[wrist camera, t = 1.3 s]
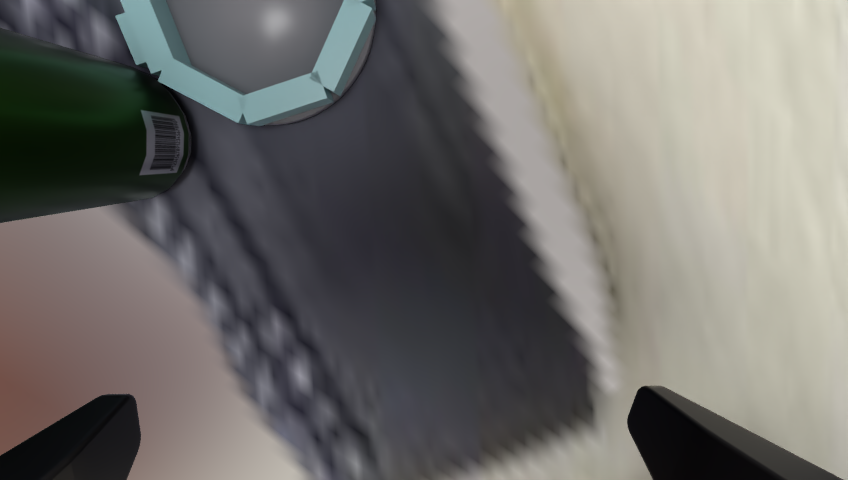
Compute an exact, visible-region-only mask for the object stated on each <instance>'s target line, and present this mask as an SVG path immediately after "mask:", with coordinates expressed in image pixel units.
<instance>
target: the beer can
mask: <svg viewBox="0 0 848 480" xmlns="http://www.w3.org/2000/svg"><path fill="white" fill-rule="evenodd" d="M190 154H191V132H190V128H189V125H188V121H187V118H186V115H185V114H184V112H183V111H182V109H181V108H180V106H179V104H178V103H177V101H176V100H175V98H174V97H173V96H172V94H171V93H170V92H169V91H168V90H167V89H166V88H164V87H163V86H162V85H161V84H160V83H159V82H158V81H157V80H156V79H155V78H153V77H152V76H150V75H148V74H146V73H144V72H142V71H139V70H137V69H135V68H133V67H131V66H127V65H124V64H120V63H117V62H114V61H110V60H107V59H103V58H100V57H97V56H93V55H90V54H87V53H83V52H80V51H76V50H73V49H70V48H66V47H63V46H60V45H56V44H53V43H49V42H46V41H43V40H39V39H36V38H33V37H29V36H26V35H22V34H19V33H16V32H12V31H9V30H6V29H2V28H0V223H3V222H9V221H15V220H22V219H27V218H33V217H39V216H46V215H52V214H58V213H64V212H70V211H76V210H82V209H88V208H95V207H101V206H107V205H113V204H119V203H125V202H131V201H137V200H143V199H148V198H153V197H155V196H157V195H158V194H160V193H162V192H164V191H165V190H167V189H169V188H170V187H171V186H172V184H173V183H174V182H175V181H176V180H177V178H178V177H179V176H180V175H181V174H182V172H183V171H184V170H185V168H186V165H187V162H188V160H189V157H190Z"/></svg>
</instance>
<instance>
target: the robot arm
mask: <svg viewBox="0 0 848 480" xmlns="http://www.w3.org/2000/svg"><path fill="white" fill-rule="evenodd" d="M627 424H628V429H629V432H630V434H631V436H632V438H633V440H634V442H635V444H636V446H637V448H638V450H639V452H640V454H641V456H642V458H643V460H644V462H645V464H646V466H647V468H648V470H649V472H650V474H651V476H652V478H653V480H843V479H841V478H839V477H837V476H835V475H833V474H831V473H829V472H827V471H825V470H823V469H822V468H820V467H818V466H816V465H814V464H812V463H810V462H808V461H806V460H804V459H802V458H800V457H798V456H796V455H795V454H793V453H791V452H789V451H787V450H785V449H783V448H781V447H779V446H777V445H775V444H773V443H771V442H769V441H767V440H766V439H764V438H762V437H760V436H758V435H756V434H754V433H752V432H750V431H748V430H746V429H744V428H742V427H740V426H738V425H737V424H735V423H733V422H731V421H729V420H727V419H725V418H723V417H721V416H719V415H717V414H715V413H713V412H711V411H710V410H708V409H706V408H704V407H702V406H700V405H698V404H696V403H694V402H692V401H690V400H688V399H686V398H684V397H682V396H681V395H679V394H677V393H675V392H673V391H671V390H669V389H667V388H665V387H662V386H643V387H641V388H640V389H639V390H638V391H637V394H636V396H635V399H634V402H633V404H632V407H631V410H630V413H629V415H628V419H627ZM140 440H141V432H140V426H139V418H138V412H137V404H136V400H135V398H134V397H133V396H132V395H130V394H107V395H101V396H99V397H97V398H95V399H94V400H92V401H90V402H89V403H87V404H85V405H84V406H82V407H80V408H79V409H77V410H75V411H74V412H72V413H70V414H69V415H67V416H65V417H64V418H62V419H60V420H59V421H57V422H55V423H54V424H52V425H50V426H49V427H47V428H45V429H44V430H42V431H40V432H39V433H37V434H35V435H34V436H32V437H31V438H29V439H27V440H26V441H24V442H22V443H21V444H19V445H17V446H16V447H14V448H12V449H11V450H9V451H7V452H6V453H4V454H2V455H1V456H0V480H127V477H128V475H129V472H130V470H131V467H132V465H133V462H134V460H135V457H136V455H137V452H138V449H139V446H140Z"/></svg>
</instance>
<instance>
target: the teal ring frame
mask: <svg viewBox="0 0 848 480" xmlns="http://www.w3.org/2000/svg"><path fill="white" fill-rule="evenodd" d="M120 1H121V3H122V6H123V8H124V11H125V13H122V14H120V15H117V16H115V17H116V19H117V21H118V24H119V26H120V28H121V31H122V33H123V35H124V38H125V40H126V42H127V45H128V47H129V49H130V52H131V54H132V56H133V59H134V61H135V63H136V65H137V66H141V67H144V68H146V67H148V68H149V70H150V72H151V74H154V75H157V76H160V77H159V79H158V81H159V82H160V83H162V84H164V85H166V86H168V87H170V88H172V89H174V90H176V91H178V92H180V93H181V94H183V95H185V96H187V97H189V98H191V99H193V100H195V101H197V102H199V103H201V104H202V105H204V106H206V107H208V108H209V109H211V110H213V111H215V112H217V113H219V114H221V115H223V116H225V117H227V118H229V119H231V120H233V121H235V122H237V123H240V124H246V125H255V126H262V125H282V124H290V123H294V122H298V121H302V120H305V119H307V118H310V117H312V116H315V115H317V114H319V113H320V112H322V111H324V110H325V109H327V108H329V107H330V106H331V105H332V104H334V103H335V102H336V101H338V100H339V99H340V98H341V97H342V96H343V95H344V94H345V93H346V92H347V91H348V90H349V88H350V87H351V86H352V84H353V83H354V81H355V80H356V79H357V77H358V76H359V74H360V72H361V70H362V68H363V66H364V65H365V62H366V60H367V57H368V54H369V52H370V49H371V45H372V41H373V37H374V31H375V23H376V10H377V9H376V0H120Z"/></svg>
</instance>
